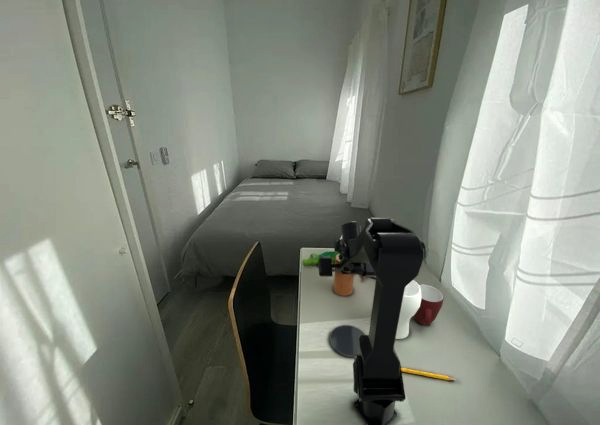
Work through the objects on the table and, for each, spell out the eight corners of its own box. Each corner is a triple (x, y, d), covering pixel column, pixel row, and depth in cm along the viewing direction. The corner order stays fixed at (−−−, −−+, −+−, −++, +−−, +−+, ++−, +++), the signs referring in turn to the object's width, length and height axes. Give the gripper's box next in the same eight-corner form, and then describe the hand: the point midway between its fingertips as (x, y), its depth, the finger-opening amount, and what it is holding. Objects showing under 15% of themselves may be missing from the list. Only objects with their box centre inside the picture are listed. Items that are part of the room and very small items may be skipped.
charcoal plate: (375, 346, 67) (375, 343, 67) (347, 364, 62) (347, 361, 62) (349, 322, 75) (349, 320, 75) (323, 336, 70) (323, 334, 70)
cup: (417, 324, 74) (426, 282, 69) (409, 350, 66) (418, 303, 61) (381, 310, 80) (387, 270, 75) (370, 332, 72) (375, 288, 66)
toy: (300, 266, 104) (300, 256, 103) (329, 250, 116) (329, 241, 115) (315, 274, 99) (315, 263, 97) (344, 257, 110) (344, 247, 109)
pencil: (394, 366, 61) (395, 367, 60) (455, 377, 58) (456, 378, 58) (394, 369, 61) (395, 370, 60) (455, 381, 58) (456, 382, 57)
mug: (443, 339, 69) (451, 310, 66) (412, 334, 71) (418, 306, 67) (433, 312, 79) (439, 286, 75) (405, 308, 80) (410, 282, 77)
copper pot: (354, 295, 87) (357, 263, 82) (335, 295, 86) (337, 263, 82) (348, 279, 96) (351, 249, 91) (331, 279, 96) (333, 249, 91)
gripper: (379, 235, 78) (367, 249, 92) (319, 235, 78) (316, 249, 92) (384, 271, 73) (370, 280, 87) (321, 271, 73) (317, 280, 87)
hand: (343, 271), depth 89 cm, fingers open, 8 cm apart
